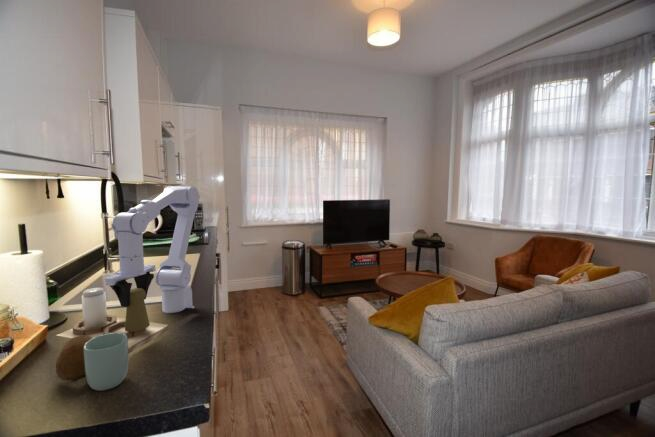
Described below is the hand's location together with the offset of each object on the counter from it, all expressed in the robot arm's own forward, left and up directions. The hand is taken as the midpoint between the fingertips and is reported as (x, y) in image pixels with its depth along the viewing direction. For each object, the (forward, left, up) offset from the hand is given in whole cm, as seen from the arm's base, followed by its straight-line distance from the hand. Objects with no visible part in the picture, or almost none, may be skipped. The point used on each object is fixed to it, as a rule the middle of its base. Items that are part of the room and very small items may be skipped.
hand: (133, 302), depth 87 cm
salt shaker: (0, -14, -9) cm, 17 cm away
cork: (0, +1, -7) cm, 7 cm away
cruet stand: (0, -7, -10) cm, 13 cm away
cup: (+18, +12, -11) cm, 24 cm away
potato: (+16, +2, -11) cm, 20 cm away
